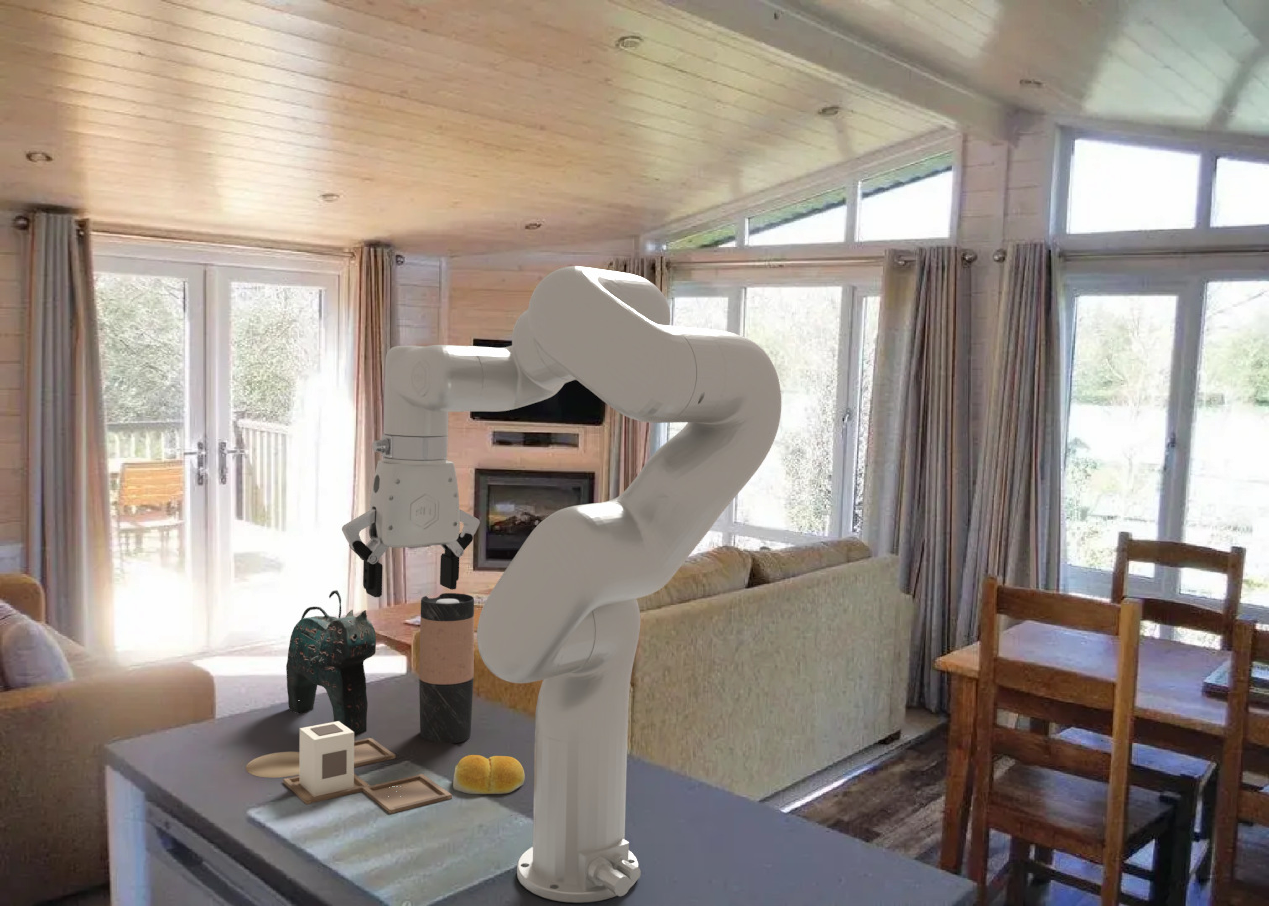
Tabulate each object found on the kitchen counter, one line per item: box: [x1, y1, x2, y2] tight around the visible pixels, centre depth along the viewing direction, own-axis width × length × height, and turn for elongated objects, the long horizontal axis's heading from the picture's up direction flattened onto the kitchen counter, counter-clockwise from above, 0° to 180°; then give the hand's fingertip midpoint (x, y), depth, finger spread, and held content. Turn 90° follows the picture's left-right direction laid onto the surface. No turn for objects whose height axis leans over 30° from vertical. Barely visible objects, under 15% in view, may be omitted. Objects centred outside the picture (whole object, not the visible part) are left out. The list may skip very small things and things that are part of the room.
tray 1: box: [282, 772, 371, 805], centre depth 127 cm, size 8×8×1 cm
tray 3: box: [362, 773, 453, 814], centre depth 125 cm, size 8×8×1 cm
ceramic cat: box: [285, 589, 377, 735], centre depth 151 cm, size 20×6×20 cm, turn 45°
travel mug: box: [418, 592, 475, 745], centre depth 146 cm, size 8×8×20 cm
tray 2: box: [354, 737, 397, 768], centre depth 138 cm, size 8×8×1 cm
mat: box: [245, 751, 300, 779], centre depth 134 cm, size 9×9×1 cm
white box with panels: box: [298, 721, 355, 797], centre depth 127 cm, size 5×5×7 cm
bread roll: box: [452, 754, 526, 795], centre depth 130 cm, size 8×9×4 cm
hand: (411, 591), depth 124 cm, fingers open, 9 cm apart
